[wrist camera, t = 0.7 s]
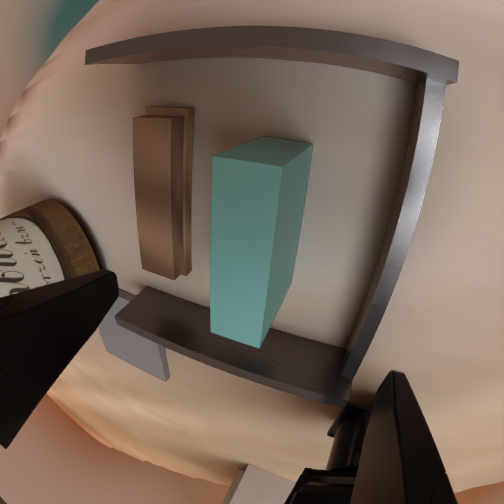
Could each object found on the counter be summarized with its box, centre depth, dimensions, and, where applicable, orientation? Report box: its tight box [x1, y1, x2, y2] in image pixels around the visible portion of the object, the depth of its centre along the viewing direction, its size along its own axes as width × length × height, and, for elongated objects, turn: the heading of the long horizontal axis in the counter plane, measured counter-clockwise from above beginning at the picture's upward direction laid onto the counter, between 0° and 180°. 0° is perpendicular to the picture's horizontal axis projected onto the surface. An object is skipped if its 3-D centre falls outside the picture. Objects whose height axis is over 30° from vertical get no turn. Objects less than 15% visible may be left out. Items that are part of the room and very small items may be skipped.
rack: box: [85, 26, 459, 408], centre depth 18 cm, size 22×20×5 cm
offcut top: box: [133, 115, 184, 280], centre depth 21 cm, size 12×3×2 cm, turn 175°
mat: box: [98, 289, 170, 382], centre depth 33 cm, size 12×10×1 cm
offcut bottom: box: [145, 107, 195, 276], centre depth 22 cm, size 13×4×2 cm, turn 174°
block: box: [210, 136, 313, 348], centre depth 17 cm, size 10×3×7 cm, turn 175°
